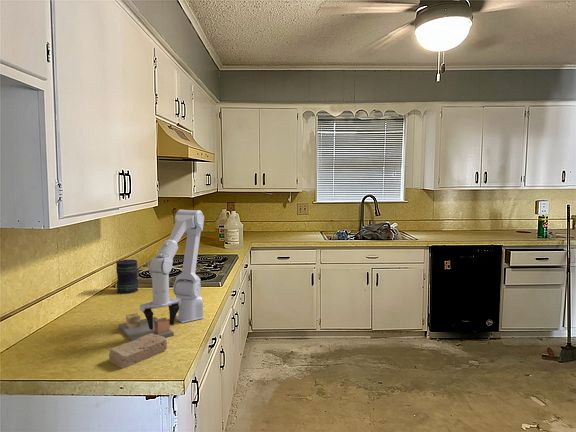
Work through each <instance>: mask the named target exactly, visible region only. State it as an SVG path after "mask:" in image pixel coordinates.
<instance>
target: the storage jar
mask: <svg viewBox="0 0 576 432" xmlns="http://www.w3.org/2000/svg"><path fill="white" fill-rule="evenodd" d="M115 264H116V266H115V267H116V268H115V269H116V276H117V280H116V289H117V290H116V292H117V294H121V295H129V294H134V293H137V292H138V291H139V289H138V288H139V280H138V279H139V278H138V260H137V259H122V260H118V261H116V263H115Z"/></svg>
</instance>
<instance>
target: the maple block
mask: <svg viewBox="0 0 576 432" xmlns="http://www.w3.org/2000/svg"><path fill="white" fill-rule="evenodd" d="M125 316H126V317H125V318H126V322H125V323H126V325H127V326H128V328H129V329H130V328H135V327H139V326H140V320H141V315H140V314H138V312H134V313H129V314H126V315H125Z"/></svg>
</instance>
